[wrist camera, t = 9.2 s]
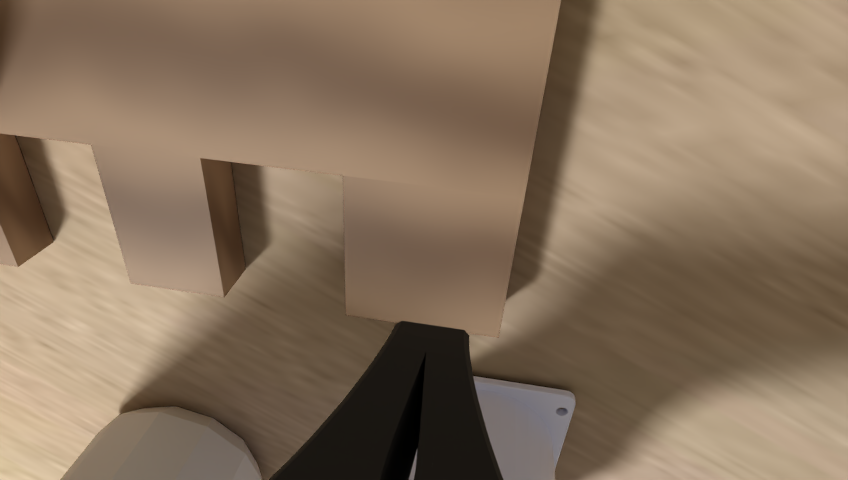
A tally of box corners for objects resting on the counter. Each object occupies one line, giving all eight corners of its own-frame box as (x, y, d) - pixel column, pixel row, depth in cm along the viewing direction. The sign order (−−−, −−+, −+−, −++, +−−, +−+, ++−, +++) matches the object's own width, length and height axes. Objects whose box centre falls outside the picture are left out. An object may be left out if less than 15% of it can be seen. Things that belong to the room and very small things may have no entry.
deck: (499, 305, 22) (497, 376, 18) (-28, 230, 24) (-117, 281, 21) (557, -14, 15) (569, 4, 12) (-167, -77, 18) (-329, -76, 14)
